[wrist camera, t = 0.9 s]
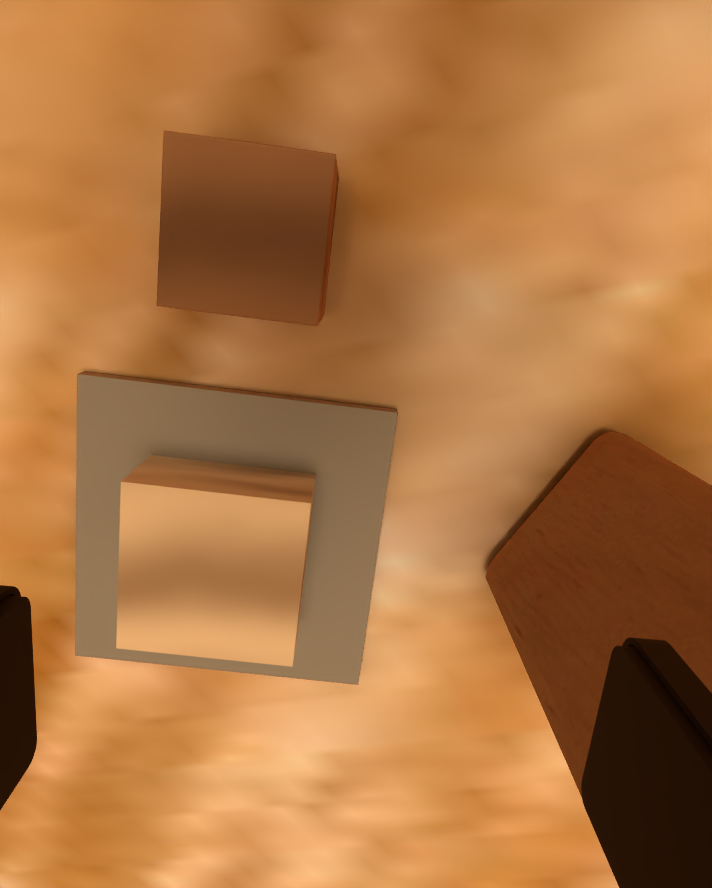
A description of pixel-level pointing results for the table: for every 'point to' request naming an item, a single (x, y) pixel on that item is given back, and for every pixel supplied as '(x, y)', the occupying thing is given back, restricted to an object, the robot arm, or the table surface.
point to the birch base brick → (212, 559)
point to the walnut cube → (245, 228)
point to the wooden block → (606, 579)
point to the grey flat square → (248, 444)
